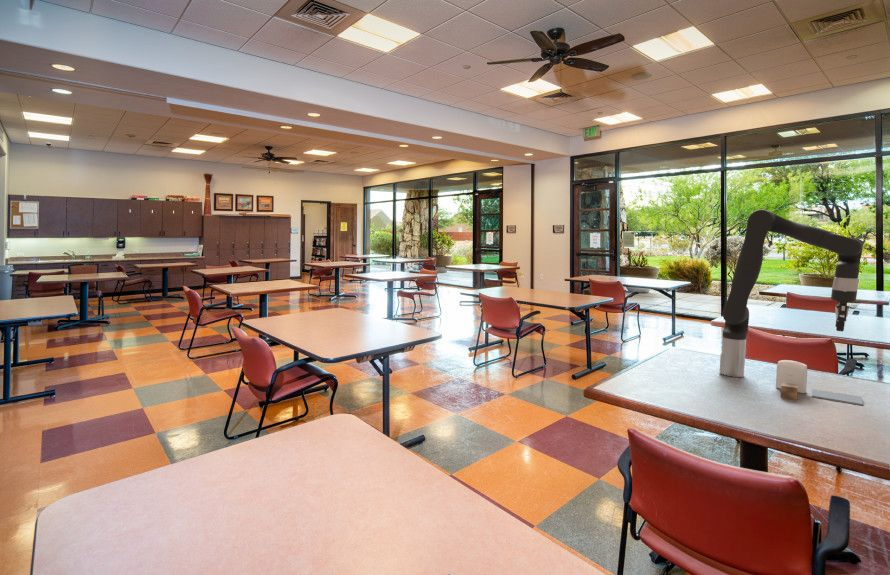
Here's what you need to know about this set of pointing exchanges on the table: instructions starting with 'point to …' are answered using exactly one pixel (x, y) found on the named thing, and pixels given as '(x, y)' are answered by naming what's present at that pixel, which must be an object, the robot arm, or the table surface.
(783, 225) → the robot arm
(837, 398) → the slate mat
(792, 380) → the photo printer
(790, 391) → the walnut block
